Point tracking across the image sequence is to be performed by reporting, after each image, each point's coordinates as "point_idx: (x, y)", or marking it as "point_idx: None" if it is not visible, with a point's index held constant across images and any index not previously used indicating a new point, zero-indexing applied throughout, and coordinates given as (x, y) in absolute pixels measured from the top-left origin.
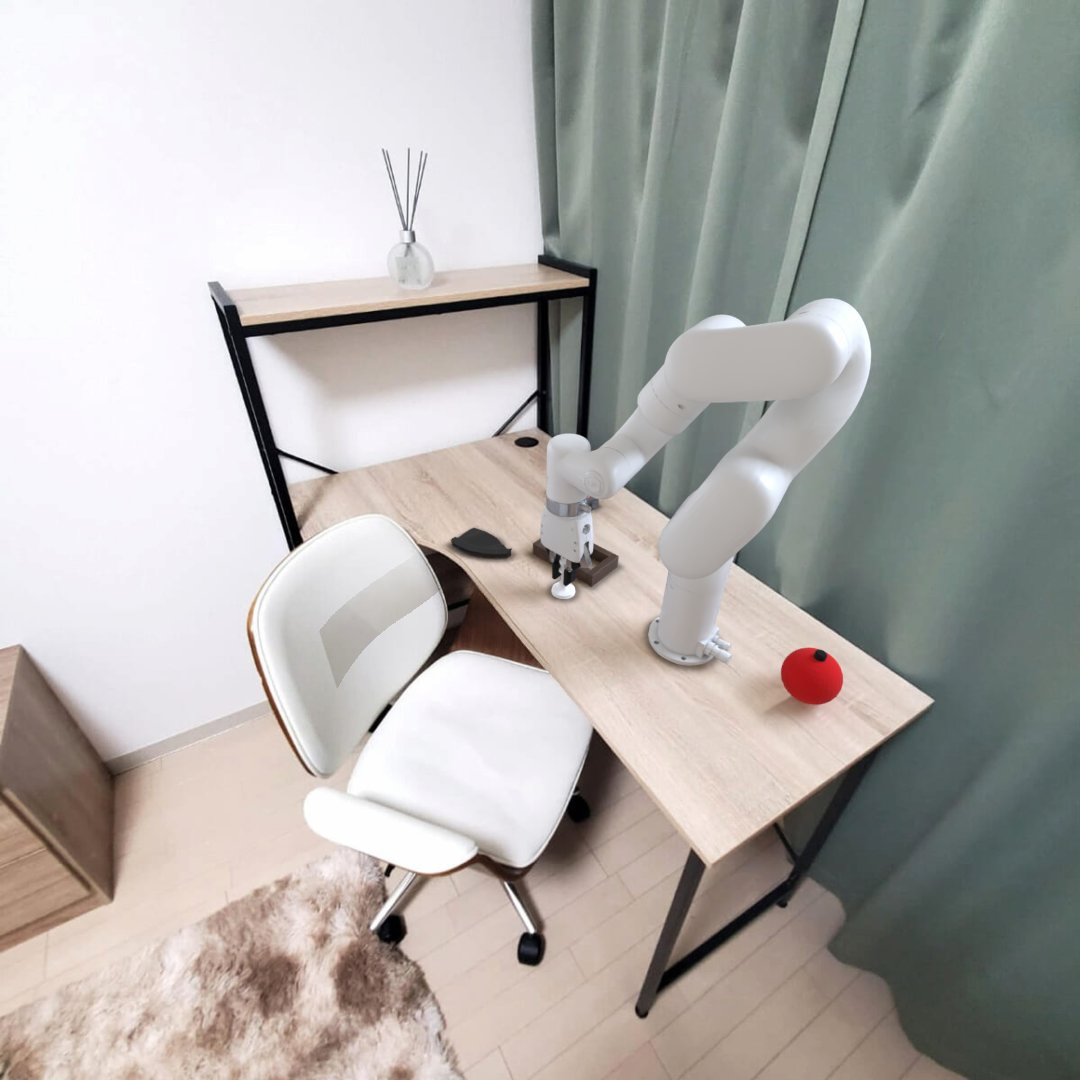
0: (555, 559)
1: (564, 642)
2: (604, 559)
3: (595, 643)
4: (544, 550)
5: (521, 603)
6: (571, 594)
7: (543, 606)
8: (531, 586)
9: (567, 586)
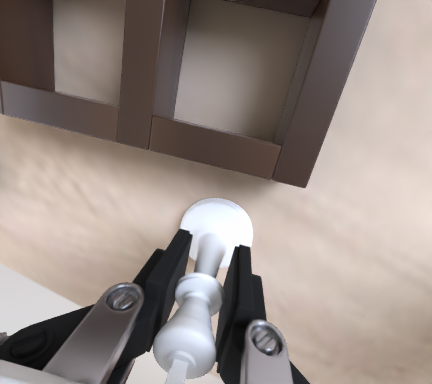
0: (132, 358)
1: None
2: (322, 24)
3: (373, 358)
4: (42, 123)
5: None
6: None
7: None
8: (130, 249)
9: (228, 247)
